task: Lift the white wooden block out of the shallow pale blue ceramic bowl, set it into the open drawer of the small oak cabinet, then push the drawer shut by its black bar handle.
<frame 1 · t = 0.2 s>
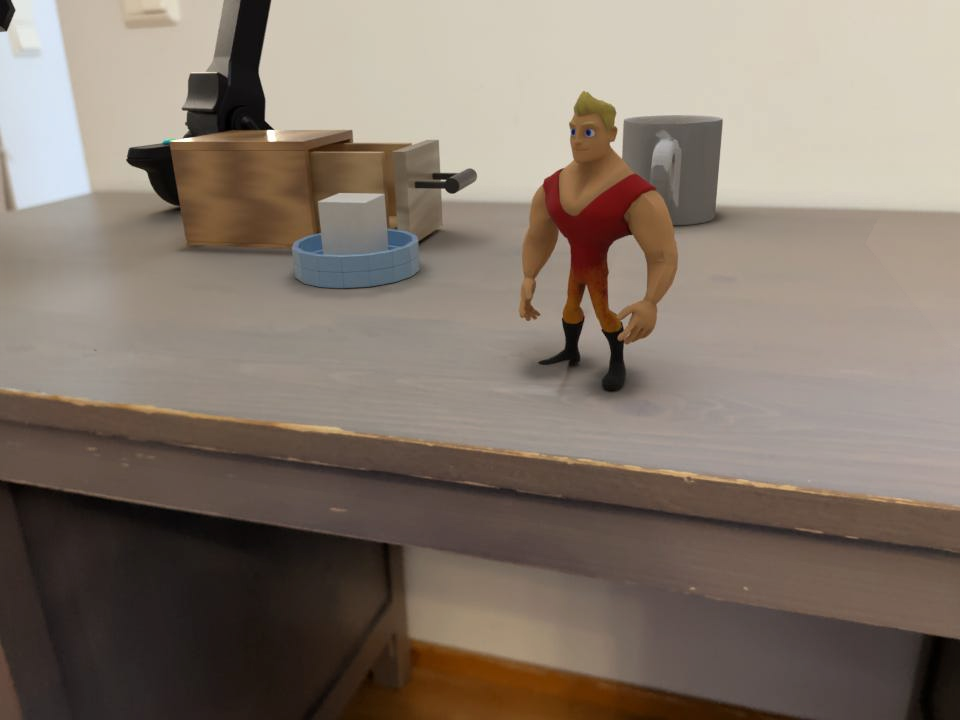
drawer: (383, 190, 73), point 5 cm above the table, slide at 8.0 cm
block: (358, 271, 64), resting on bowl
action figure: (585, 377, 44), on the table
cabinet: (277, 239, 78), on the table
bowl: (358, 277, 64), on the table
coffee mug: (661, 220, 82), on the table
controller: (185, 208, 97), on the table
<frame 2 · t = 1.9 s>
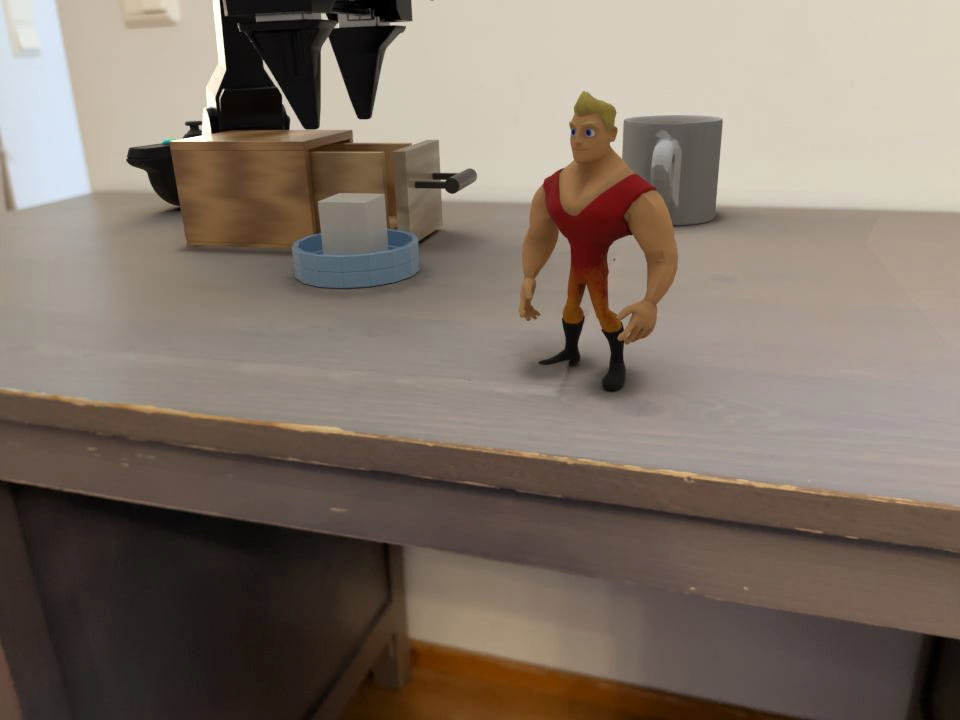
hand: (340, 123, 59), 12 cm above the table, tool pointing down, fingers open, 9 cm apart
nothing on the table moved.
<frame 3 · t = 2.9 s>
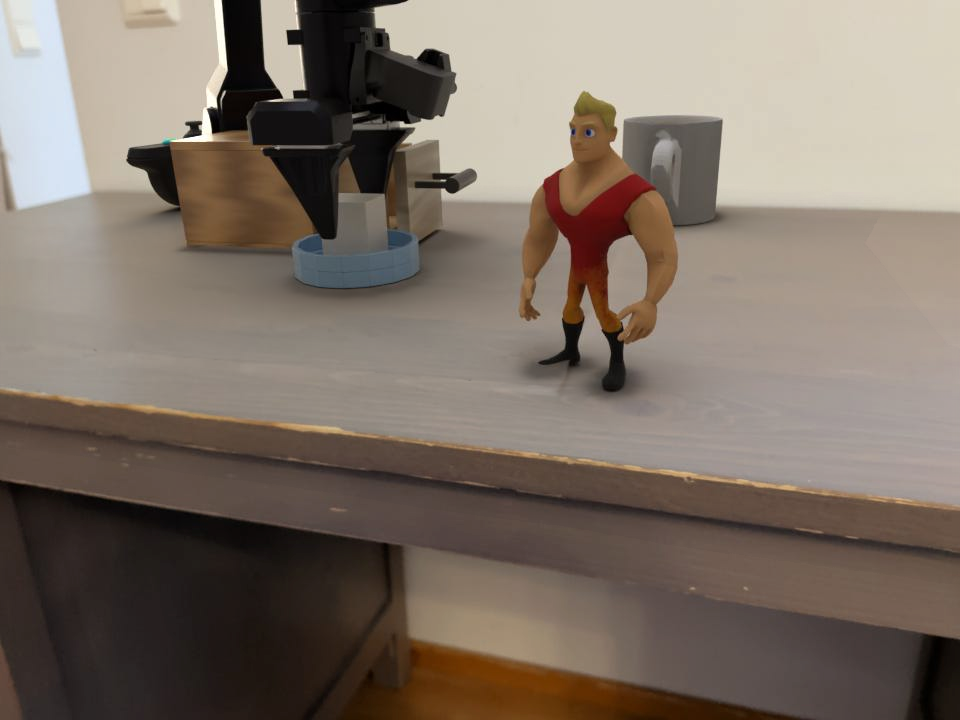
hand: (354, 226, 63), 4 cm above the table, tool pointing down, fingers open, 9 cm apart
drawer: (383, 190, 73), point 5 cm above the table, slide at 8.0 cm, touching gripper
everything else where it was.
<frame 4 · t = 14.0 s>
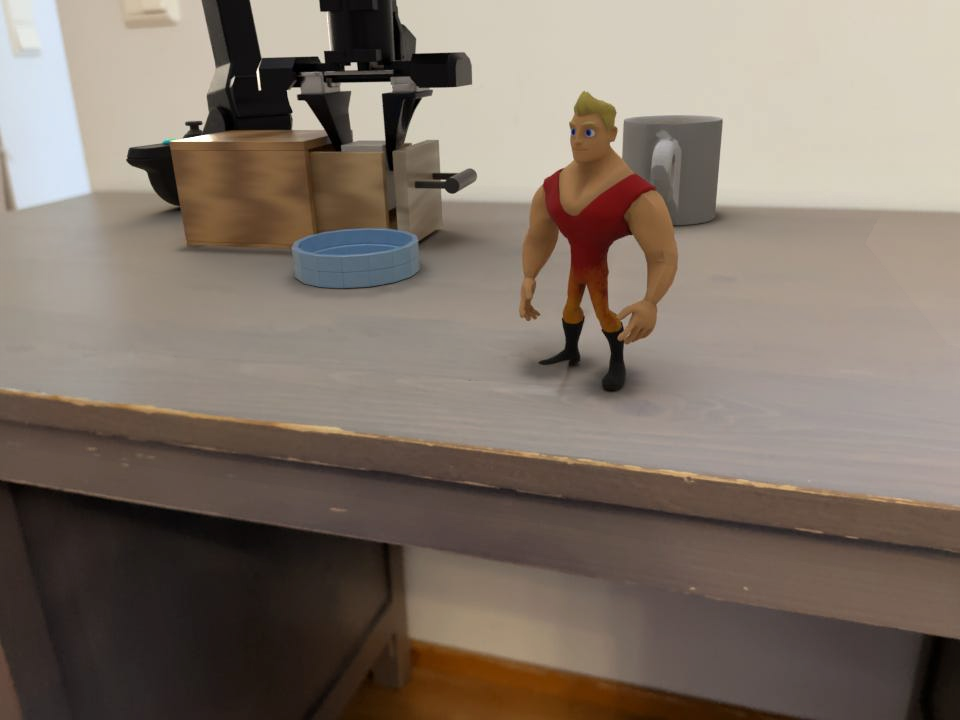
hand: (371, 170, 73), 7 cm above the table, tool pointing down, fingers closed on block, 4 cm apart
drawer: (383, 190, 73), point 5 cm above the table, slide at 8.0 cm
block: (374, 207, 74), point 3 cm above the table, touching gripper
everything else where it was.
when the fingers open (8 cm above the table, at t = 15.8 s): block drops 3 cm, resting on drawer.
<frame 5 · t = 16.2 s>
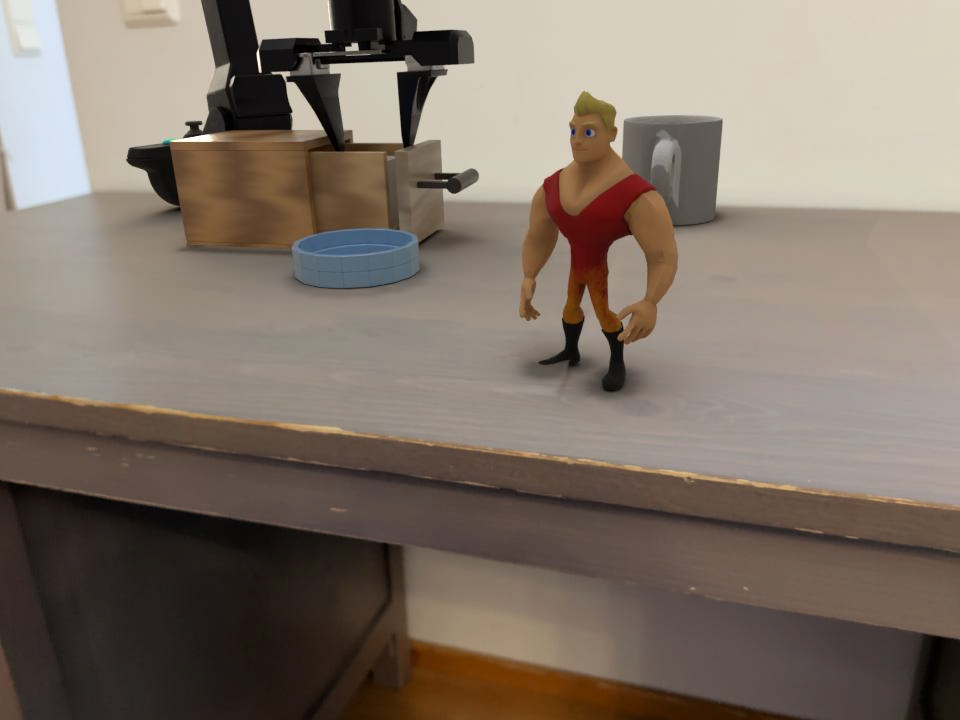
hand: (374, 152, 72), 9 cm above the table, tool pointing down, fingers open, 6 cm apart
drawer: (385, 190, 73), point 5 cm above the table, slide at 8.2 cm, touching block, gripper
block: (378, 222, 75), point 2 cm above the table, touching drawer
everything else where it was.
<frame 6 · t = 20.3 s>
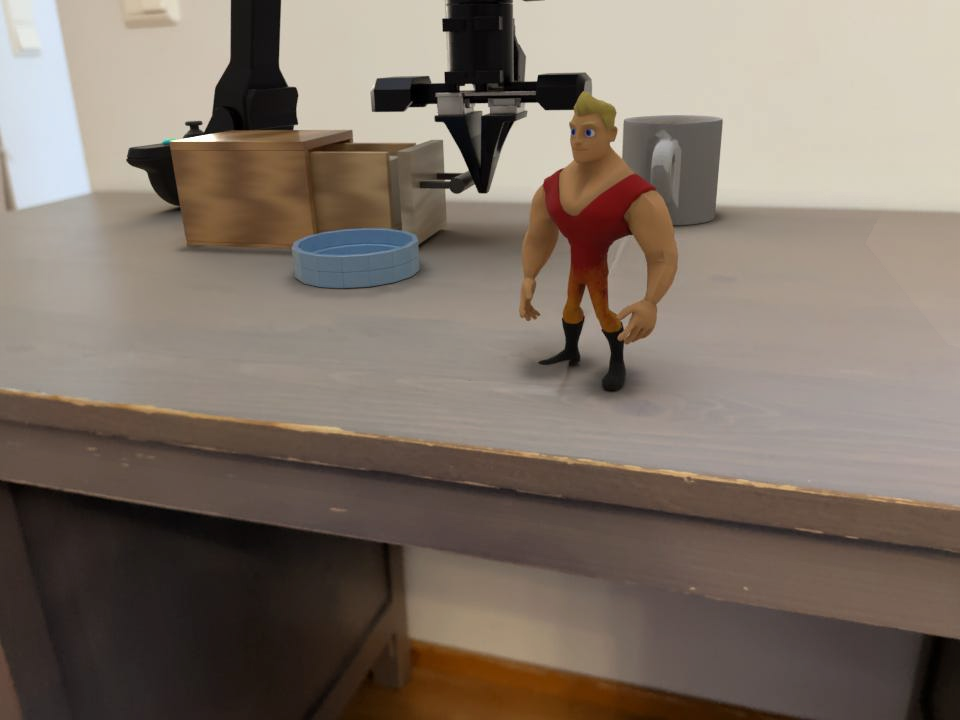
hand: (483, 192, 71), 5 cm above the table, tool pointing down, fingers closed
nothing on the table moved.
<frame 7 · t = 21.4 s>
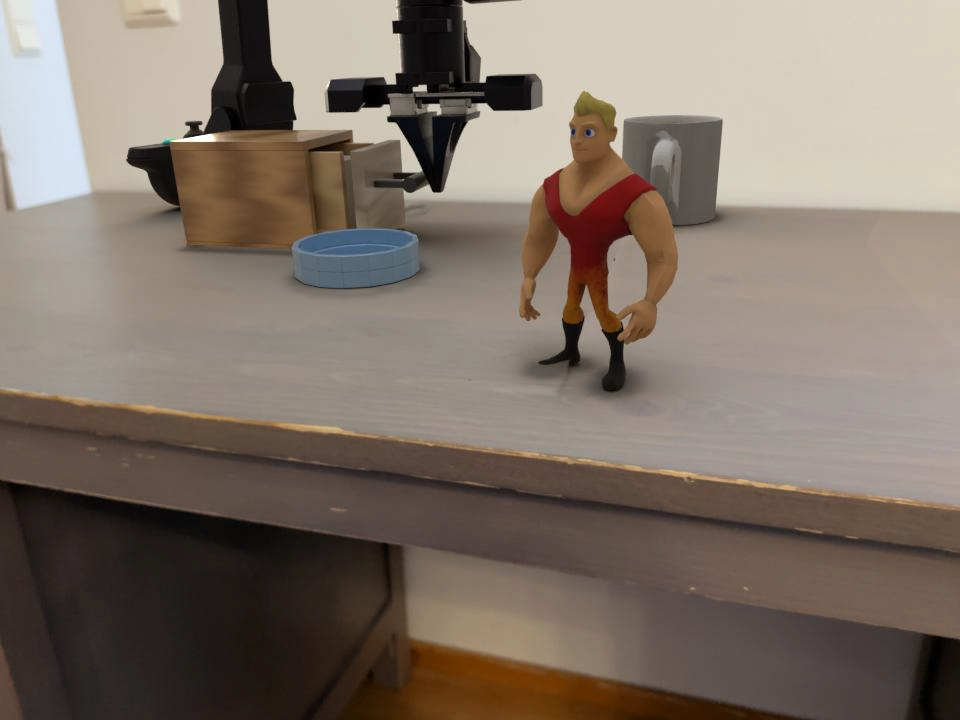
hand: (438, 192, 72), 5 cm above the table, tool pointing down, fingers closed
drawer: (345, 189, 74), point 5 cm above the table, slide at 4.0 cm, touching block, gripper
block: (338, 221, 76), point 2 cm above the table, touching drawer
everything else where it was.
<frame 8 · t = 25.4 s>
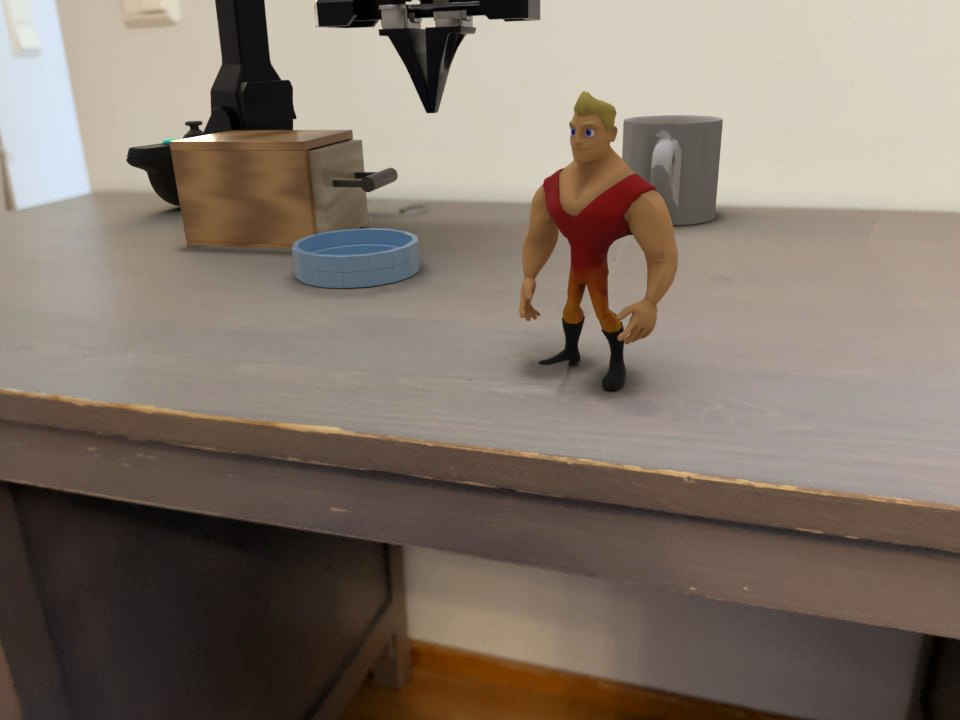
hand: (432, 112, 70), 12 cm above the table, tool pointing down, fingers closed
drawer: (306, 189, 75), point 5 cm above the table, slide at 0.0 cm, touching block
block: (300, 220, 77), point 2 cm above the table, touching drawer
everything else where it was.
at the end: block inside the target area in the cabinet (2.8 cm from its centre), point 2.0 cm above the cabinet's base; drawer slide at 0.0 cm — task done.
